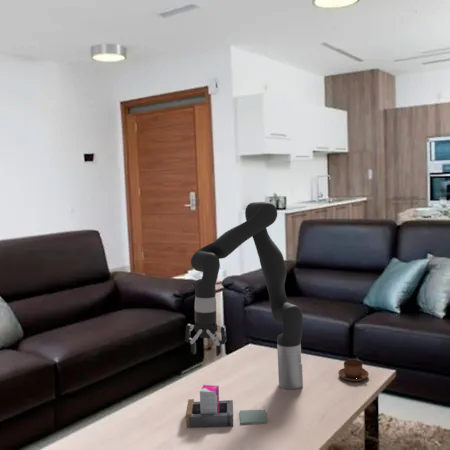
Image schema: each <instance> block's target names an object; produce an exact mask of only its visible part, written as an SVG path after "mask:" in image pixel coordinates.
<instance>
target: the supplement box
mask: <svg viewBox="0 0 450 450" xmlns="http://www.w3.org/2000/svg"><path fill="white" fill-rule="evenodd" d="M219 387H220V386H219V385H212V384H211V385H210V384H203V386H202V387H201V388H200V390H199V402H200V412H201V414H210V413H219V401H220V391H219V390H220V388H219Z"/></svg>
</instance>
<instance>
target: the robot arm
mask: <svg viewBox="0 0 450 450" xmlns="http://www.w3.org/2000/svg"><path fill="white" fill-rule="evenodd" d="M244 215H245V220H246V221H244V222H242V223H240V224H239V225H237V226H235V227H232V228H230V229H229V230H227V231H225V232H224V233H223V234H222V235H220V236H219V237H217V238H216V239H215V240H214V241H213V242H211V243H208V244H207V245H204V246H203V247H201V248H200V249H198V250H196V252H194V253H193V255H192V256H191V259H190V265H191V267H192V269H193V270H194V271H197V272H199V273H200V272H201V273H202V276H201V278H198V279H197V280H196V281H195V285H194V289H195V292H194V293H195V296H194V297H195V298H194V306H193V307H194V324H191V323H187V325H186V326H185V339H184V340H185V341H184V342H186V343H190V352H191V353H192V355H196V354H197V342H196V341H197V340H198V338H199V337H200V339H204V338H205V339H211V340H212V341H213V342H214V343H215V344H216V346H215V349H216V350H215V351H216V353H215V354H216V355H215V356H216V357H219V356H220V355H221V353H222V345H225V344H226V342H227V330H226V325H219V326H218V324H217V298H216V297H217V295H216V284H217V280H218V276H219V272H220V268H221V267H220V266H221V265H220V264H221V263H220V259H221V260H222V259H226V258H227V257H229V255H231V254H232V253H233V252H234V251H235V250H236V249H238V248H239V247H240V246H241V245H242V244H244V243H245V242H247V241H248V240H249V239H251V238H252V240H253V242H254V245H255V249H256V252H257V255H258V260H259V263H260V264H259V265H260V267H261V272H262V275H263V278H264V281H265V285H266V289H267V293H268V298H269V303H270V310H271V315H272V318H273V320H274V322H276V324H278V325H280V326H282V333H280V334H278V335H277V337H276V343H277V347H276V349H277V371H278V386H279V387H280V388H281V389H285V390H296V389H299V388H303V387H304V384H303V383H304V380H303V379H304V378H303V375H304V374H303V363H302V346H301V345H302V344H301V342H302V337H303V325H304V324H303V321H304V320H303V312H302V310H301V308H300V307H299V306H297V305H296V304H293V303H290V302H289V300H288V298H287V294H286V290H285V288H286V287H285V284H286V279H287V274H288V273H287V272H288V271H287V267H286V263H285V257H284V255H283V253H282V251H281V250H280V249H279V247H278V246H277V244H276V243H275V242H274V241H273V240H272V238H271V237H270V234H269V232H268V229H267V228H269V227H270V226H271V225H273V224H275V222H276V220H277V218H278V210H277V207H276V205H275V204H273V203H272V202H269V201H255V202H250V203H249V204H248V205H247V206H246V208H245V211H244ZM193 330H194V332H195V333H196V334H195V335H194V336H193V337H191V336H192V335H191V334H192V333H191V332H192V331H193ZM217 331H218V332H219V333H220V334H221V338H220V337H219V335H218V334H217Z"/></svg>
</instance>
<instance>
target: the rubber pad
mask: <svg viewBox="0 0 450 450" xmlns="http://www.w3.org/2000/svg"><path fill="white" fill-rule="evenodd" d="M266 412H267V411H266V409H244V410H239V414H240V415H239V418H240V425H253V424H254V425H258V424H260V425H261V424H267V422H268V421H267V413H266Z"/></svg>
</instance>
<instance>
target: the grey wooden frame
mask: <svg viewBox="0 0 450 450" xmlns="http://www.w3.org/2000/svg"><path fill="white" fill-rule="evenodd" d="M185 425H186V429H205V428H206V429H207V428H227V427H231V428H232V427H234V401H233V400H232V399H230V400H226V399H225V400H219V413H210V414H201V412H200V401H195V399H194V398H192V399H190V398H189V399H188V400H187V406H186V410H185Z"/></svg>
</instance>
